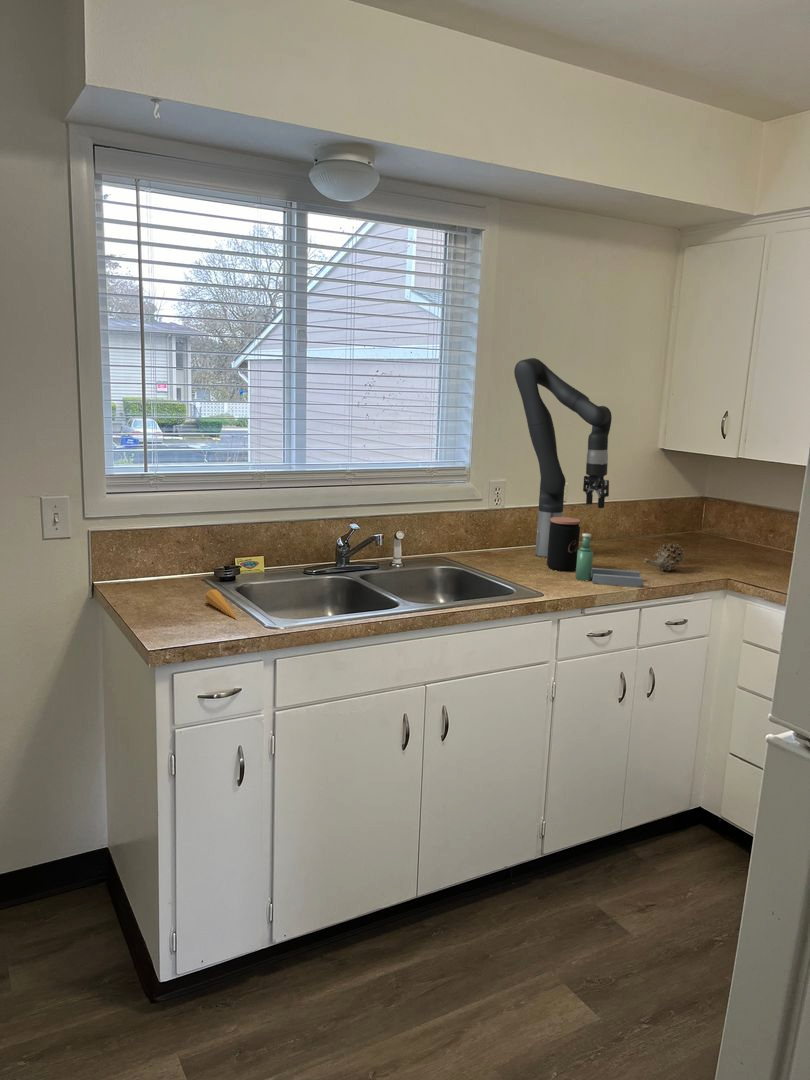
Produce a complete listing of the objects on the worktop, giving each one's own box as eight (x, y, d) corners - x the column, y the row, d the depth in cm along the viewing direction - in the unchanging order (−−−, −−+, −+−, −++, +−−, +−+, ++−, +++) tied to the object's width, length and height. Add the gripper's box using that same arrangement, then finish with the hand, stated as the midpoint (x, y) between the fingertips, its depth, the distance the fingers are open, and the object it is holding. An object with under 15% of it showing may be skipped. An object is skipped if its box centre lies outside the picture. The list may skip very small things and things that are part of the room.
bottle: (575, 580, 279) (579, 534, 276) (575, 576, 284) (578, 532, 281) (591, 581, 278) (595, 536, 275) (590, 578, 283) (594, 533, 280)
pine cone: (664, 565, 309) (667, 539, 307) (688, 569, 302) (691, 543, 300) (634, 573, 293) (637, 545, 291) (659, 578, 287) (662, 550, 285)
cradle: (592, 583, 275) (593, 575, 275) (591, 576, 286) (591, 567, 285) (642, 587, 273) (643, 578, 272) (638, 579, 283) (639, 571, 283)
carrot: (206, 604, 235) (201, 591, 233) (221, 597, 237) (215, 584, 235) (232, 630, 219) (226, 617, 217) (247, 622, 221) (241, 609, 219)
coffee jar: (570, 573, 288) (574, 523, 285) (541, 568, 294) (545, 519, 290) (580, 568, 297) (585, 519, 294) (553, 563, 303) (556, 515, 299)
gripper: (578, 460, 304) (576, 503, 307) (597, 464, 290) (595, 509, 294) (596, 459, 306) (594, 502, 309) (616, 463, 292) (614, 508, 296)
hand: (595, 506), depth 301 cm, fingers open, 8 cm apart
